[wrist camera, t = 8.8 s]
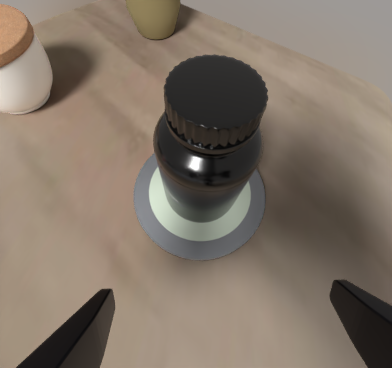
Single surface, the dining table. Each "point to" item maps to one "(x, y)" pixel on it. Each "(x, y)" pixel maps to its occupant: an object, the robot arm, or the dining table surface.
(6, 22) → the lidded jar
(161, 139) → the supplement bottle
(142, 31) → the squeeze bottle
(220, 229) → the plate
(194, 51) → the dining table surface
